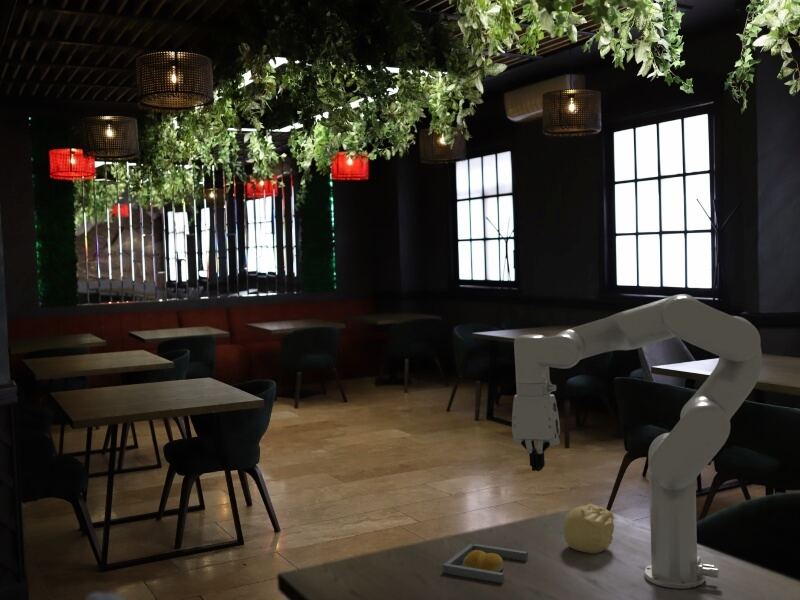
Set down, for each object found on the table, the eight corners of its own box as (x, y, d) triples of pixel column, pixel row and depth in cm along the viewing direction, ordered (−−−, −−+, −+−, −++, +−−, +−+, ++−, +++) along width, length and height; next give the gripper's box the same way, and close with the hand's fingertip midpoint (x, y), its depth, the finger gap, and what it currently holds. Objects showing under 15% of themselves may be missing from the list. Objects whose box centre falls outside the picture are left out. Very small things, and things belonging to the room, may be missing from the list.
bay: (527, 559, 195) (527, 551, 195) (502, 583, 182) (502, 575, 181) (471, 550, 202) (471, 543, 202) (442, 572, 189) (442, 565, 189)
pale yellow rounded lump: (606, 560, 192) (604, 515, 191) (556, 552, 198) (555, 508, 198) (620, 545, 202) (619, 501, 201) (573, 537, 208) (572, 495, 207)
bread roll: (496, 578, 185) (495, 560, 185) (459, 572, 189) (458, 555, 189) (509, 565, 192) (508, 548, 192) (474, 559, 197) (473, 543, 196)
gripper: (570, 387, 187) (574, 467, 188) (507, 386, 194) (511, 463, 194) (560, 393, 180) (565, 476, 181) (496, 391, 187) (500, 471, 188)
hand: (537, 469), depth 188 cm, fingers closed
